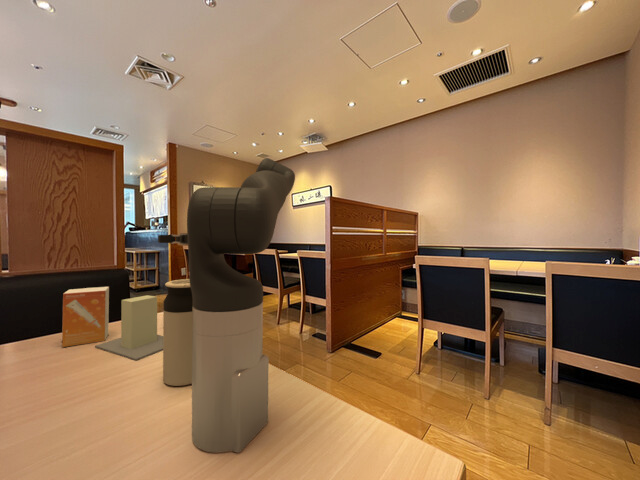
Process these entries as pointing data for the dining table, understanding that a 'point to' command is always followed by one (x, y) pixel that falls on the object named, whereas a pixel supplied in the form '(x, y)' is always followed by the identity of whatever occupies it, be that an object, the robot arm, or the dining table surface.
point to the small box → (85, 316)
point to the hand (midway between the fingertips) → (169, 239)
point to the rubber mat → (134, 353)
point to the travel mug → (177, 333)
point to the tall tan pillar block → (138, 321)
